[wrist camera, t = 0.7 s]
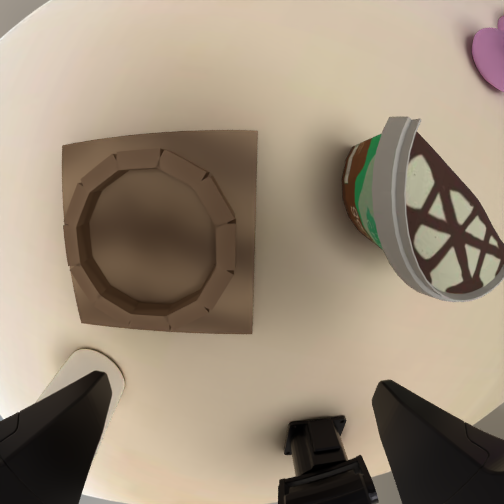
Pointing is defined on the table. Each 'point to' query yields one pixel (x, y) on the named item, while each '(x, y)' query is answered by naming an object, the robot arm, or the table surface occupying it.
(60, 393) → the robot arm
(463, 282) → the food container
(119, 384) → the can
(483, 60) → the container set
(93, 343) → the table surface
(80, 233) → the brown ring stand base
